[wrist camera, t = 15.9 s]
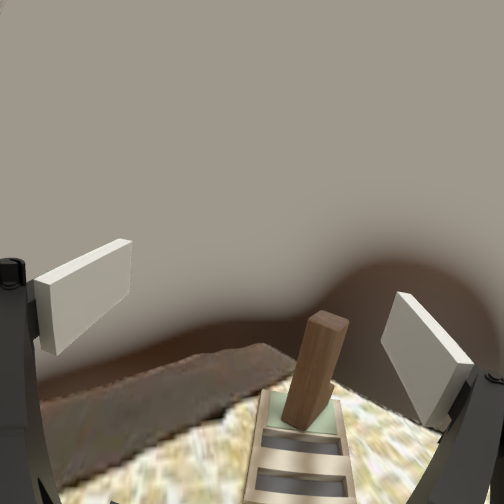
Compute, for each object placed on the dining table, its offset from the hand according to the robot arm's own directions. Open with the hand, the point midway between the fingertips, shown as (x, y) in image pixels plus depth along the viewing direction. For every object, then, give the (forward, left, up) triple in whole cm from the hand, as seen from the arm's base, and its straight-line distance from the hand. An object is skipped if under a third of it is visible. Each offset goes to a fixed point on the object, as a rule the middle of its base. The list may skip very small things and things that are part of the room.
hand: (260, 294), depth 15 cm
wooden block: (+10, +27, -29) cm, 41 cm away
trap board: (+10, +20, -31) cm, 38 cm away
